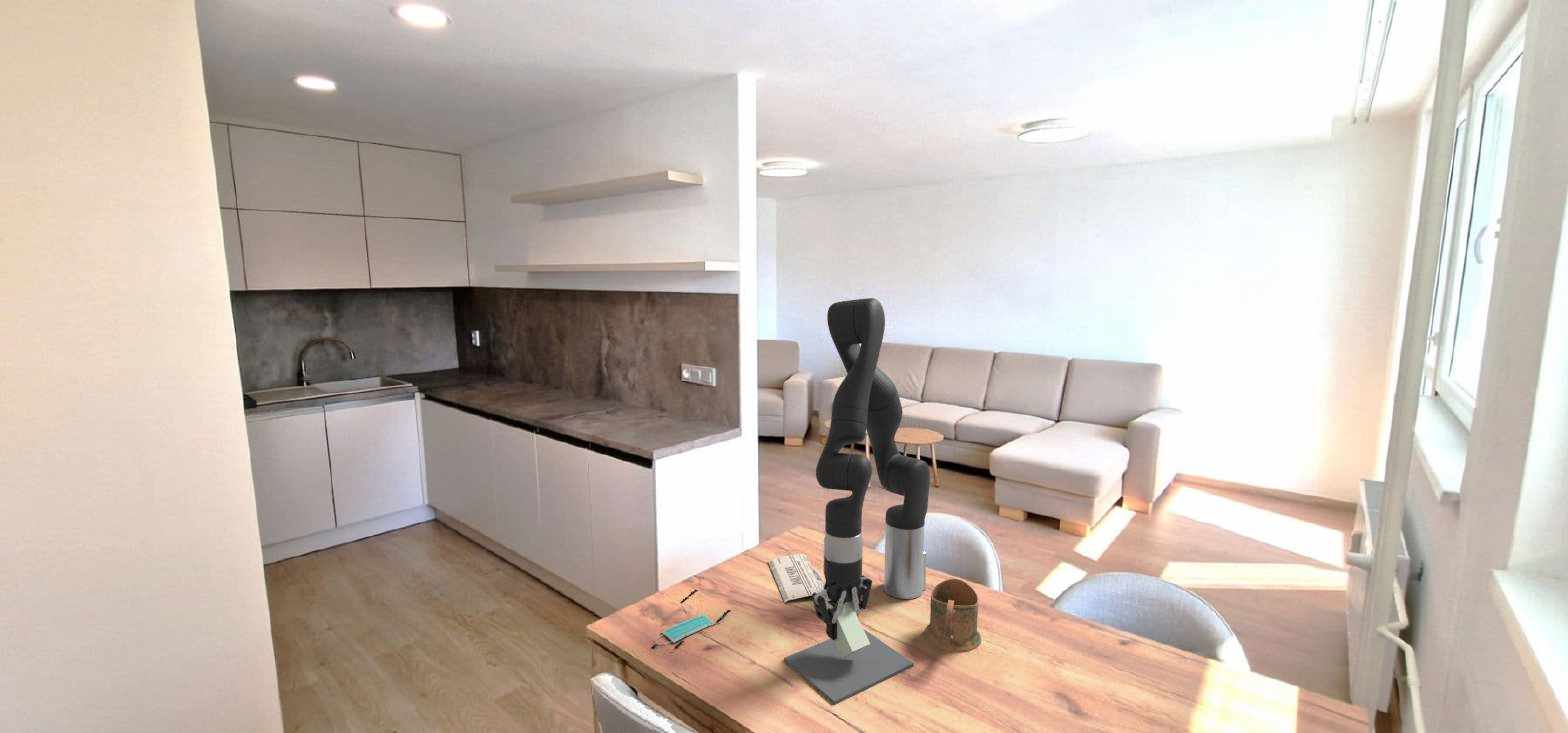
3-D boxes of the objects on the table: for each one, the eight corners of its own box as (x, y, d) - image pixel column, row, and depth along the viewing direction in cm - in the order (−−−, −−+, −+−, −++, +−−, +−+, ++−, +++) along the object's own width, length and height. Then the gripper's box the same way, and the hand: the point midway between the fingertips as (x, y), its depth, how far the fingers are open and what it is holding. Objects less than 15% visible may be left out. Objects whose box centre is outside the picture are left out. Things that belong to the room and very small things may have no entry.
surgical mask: (696, 587, 151) (733, 595, 147) (696, 604, 152) (734, 613, 147) (642, 631, 132) (684, 642, 128) (643, 651, 133) (684, 662, 129)
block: (852, 651, 123) (829, 601, 127) (841, 659, 126) (819, 609, 130) (870, 644, 125) (847, 594, 130) (859, 651, 128) (837, 603, 133)
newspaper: (835, 600, 153) (834, 590, 153) (785, 610, 151) (784, 600, 151) (812, 558, 175) (811, 549, 175) (768, 566, 173) (767, 558, 173)
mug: (916, 662, 128) (918, 605, 126) (928, 617, 145) (930, 567, 143) (977, 674, 124) (980, 616, 122) (982, 627, 141) (985, 575, 139)
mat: (859, 629, 140) (859, 626, 140) (913, 666, 127) (914, 663, 127) (783, 660, 129) (783, 658, 129) (834, 704, 116) (834, 701, 116)
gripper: (858, 537, 133) (856, 615, 136) (802, 555, 125) (802, 637, 128) (883, 550, 127) (881, 631, 130) (826, 569, 119) (825, 655, 122)
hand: (842, 633), depth 129 cm, fingers closed on block, 4 cm apart
